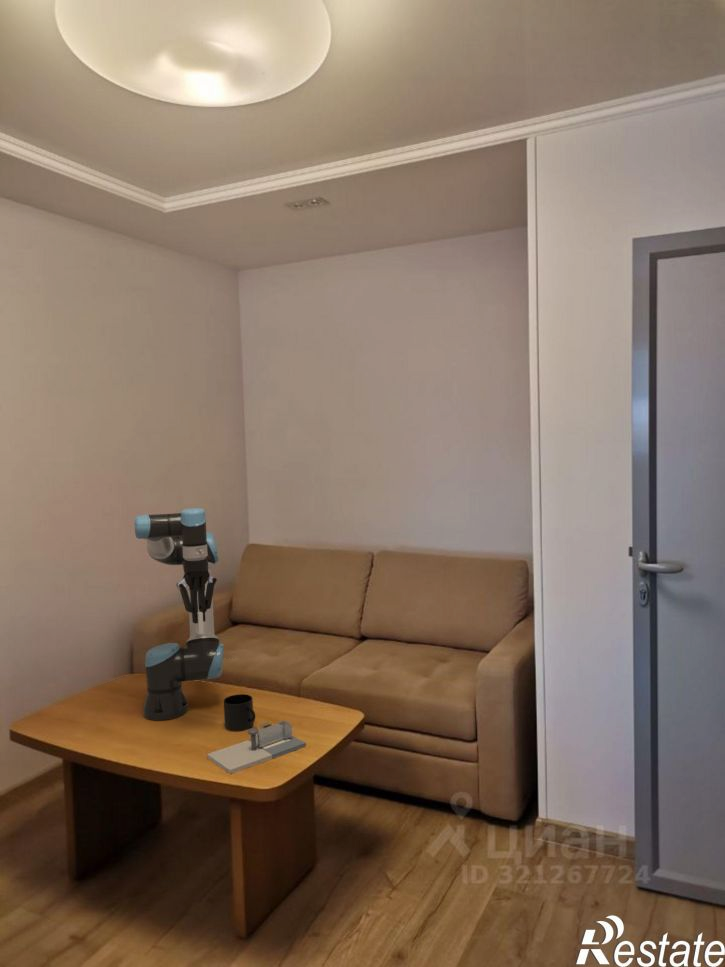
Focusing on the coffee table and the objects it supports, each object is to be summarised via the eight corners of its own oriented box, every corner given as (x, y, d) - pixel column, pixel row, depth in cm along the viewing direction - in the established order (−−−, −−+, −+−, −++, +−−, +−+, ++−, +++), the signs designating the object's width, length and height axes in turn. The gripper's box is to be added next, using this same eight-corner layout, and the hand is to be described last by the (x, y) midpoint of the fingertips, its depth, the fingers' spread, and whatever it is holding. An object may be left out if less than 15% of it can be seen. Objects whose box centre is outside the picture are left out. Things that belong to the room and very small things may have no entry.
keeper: (260, 739, 227) (259, 724, 227) (268, 736, 229) (267, 721, 229) (264, 741, 226) (263, 726, 225) (272, 739, 228) (271, 723, 227)
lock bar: (261, 748, 220) (260, 735, 220) (253, 743, 223) (252, 730, 223) (292, 736, 227) (291, 724, 227) (284, 732, 231) (283, 720, 230)
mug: (245, 735, 234) (244, 708, 233) (218, 728, 241) (217, 701, 240) (265, 725, 242) (264, 698, 241) (239, 718, 248) (237, 692, 248)
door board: (207, 757, 219) (205, 734, 218) (280, 732, 235) (279, 711, 234) (230, 774, 208) (228, 750, 207) (305, 746, 224) (304, 724, 224)
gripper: (181, 562, 221) (185, 639, 223) (220, 556, 229) (223, 630, 231) (170, 559, 227) (175, 634, 229) (208, 554, 235) (212, 626, 237)
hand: (199, 632), depth 230 cm, fingers closed
